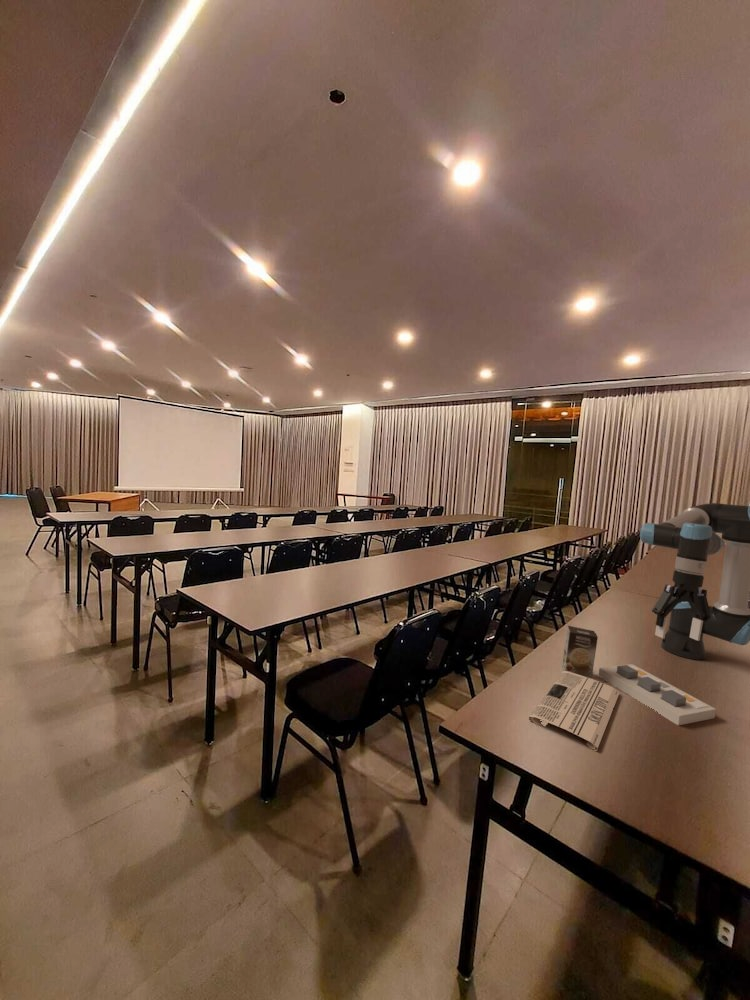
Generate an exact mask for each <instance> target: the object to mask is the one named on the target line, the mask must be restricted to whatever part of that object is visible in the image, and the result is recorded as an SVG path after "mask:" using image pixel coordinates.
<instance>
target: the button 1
mask: <svg viewBox="0 0 750 1000" xmlns="http://www.w3.org/2000/svg"><path fill="white" fill-rule="evenodd" d="M622 665H623V666H619V665H616V666H617V673H618V674H619V675H621V676H623V677H625V678H626V679H635V678H637V676H638V671H637V670H635V669H633V668H631V667H629V666H628V665H627V664H622Z"/></svg>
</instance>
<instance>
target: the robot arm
mask: <svg viewBox="0 0 750 1000" xmlns="http://www.w3.org/2000/svg"><path fill="white" fill-rule="evenodd" d="M718 534H721V537H720V535H718ZM639 538H640V541H641V542H642V543H643V544H648V545H651V546H655V547H657V546H658V547H663V548H668V549H674V550H677V552H676V553H677V554H676V557H675V563H674V568H675V570H674V571H673V574H672V581H673V582H674V585H670V584H665V585H664V588H663V591H662V592H661V594H660V596H659V598H658V600H657V601H656V603H654V606H653V607H652V609H651V611H652V613H654V614H655V615H656V622H655V625H656V626H655V627H656V628H655V633H654V636H657V637H659V638H661V642H660V643H661V644H660V647H661V648H662V649H663V650H664V651H667V652H668V653H670V654H673V655H675V656H677V657H680V658H681V657H682V658H684V659H685V658H686V659H689V660H698V661H699V660H705V659H706V655H707V654H706V653H707V651H706V648H705V643H704V639H703V638H704V637H703V636H704V635H706V636H710V637H713V638H717V639H719V640H723V641H725V642H729V643H731V644H732V643H733V644H736V645H739V646H745V645H747V644H749V643H750V608H749V600H750V505H741V504H739V505H738V504H730V503H729V504H728V503H717V502H716V503H715V502H711V503H710V502H709V503H703V504H697V505H694V506H690V507H688V508H686V509H684V510H683V511H682V512H681V513H680V514H679V515H677V516H674V517H671V518H670V519H667V520H665V521H663V522H661V523H655V522H653V523H650V522H646V523H643V525H642V526H641V528H640V531H639ZM724 542H725V548H724V549H725V550H724V556H723V558H724V559H723V565H722V571H721V580H720V581H721V582H720V589H719V594H718V595H719V597H718V600H717V601H716V602H714V603H713V605H712V606H710V605H709V602H708V598H707V596H708V595H707V594H708V590H707V589H704V588H702V587H703V585H704V584H703V583H704V578H705V577H704V574H705V572H706V565H707V562H708V556H710V555H715V554H717V553H719V552H720V551H721V550H722V549H723V547H724ZM669 614H670V616H669V618H668V617H667V616H668V615H669ZM668 621H669V622H668ZM668 623H669V624H668ZM667 627H668V629H667Z"/></svg>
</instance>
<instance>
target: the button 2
mask: <svg viewBox="0 0 750 1000" xmlns="http://www.w3.org/2000/svg"><path fill="white" fill-rule="evenodd" d="M661 699H662V700H664V701H666V702H667V703H669V704H671V705H673V706H674V707H681V706H685V704H686V697H684V696H682V695H680V694H679V693H677V692H675V691H673V690H669V691H662V697H661Z"/></svg>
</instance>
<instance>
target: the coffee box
mask: <svg viewBox="0 0 750 1000" xmlns="http://www.w3.org/2000/svg"><path fill="white" fill-rule="evenodd" d="M598 638H599V637H598V634H597V633H596V632H595V631H594V630H590V629H585V628H581V627H577V626H572V625H567V630H566V636H565V642H564V649H563V651H564V652H563V657H562V665H561V668H562V672H563V671H569V672H572V673H575V674H578V675H582V676H585V677H588V678H591V679H593V671H594V666H595V658H596V651H597V645H598Z"/></svg>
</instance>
